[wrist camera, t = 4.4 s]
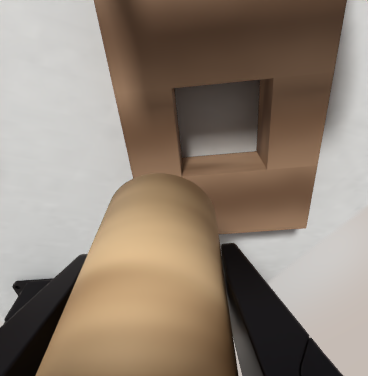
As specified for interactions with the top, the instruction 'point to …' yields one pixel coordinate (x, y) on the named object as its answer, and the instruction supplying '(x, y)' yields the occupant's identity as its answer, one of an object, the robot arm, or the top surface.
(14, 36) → the top surface
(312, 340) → the robot arm
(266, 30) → the socket block
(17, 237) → the top surface
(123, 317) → the peg
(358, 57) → the top surface
